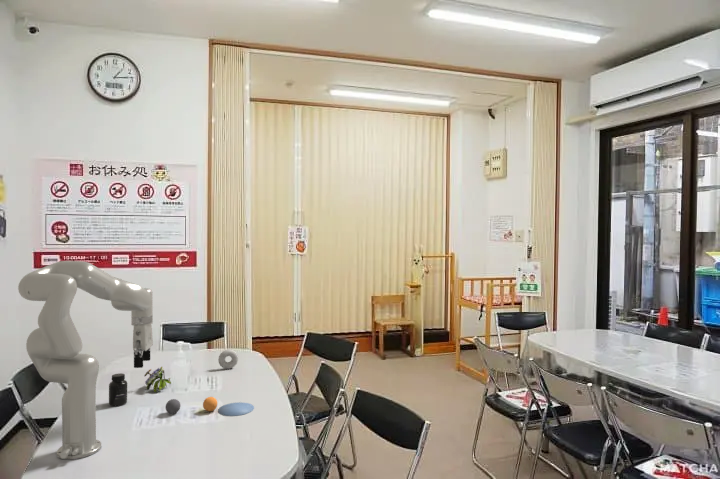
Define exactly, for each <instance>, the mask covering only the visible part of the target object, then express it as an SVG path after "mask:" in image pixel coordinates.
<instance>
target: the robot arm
mask: <svg viewBox="0 0 720 479" xmlns="http://www.w3.org/2000/svg"><path fill="white" fill-rule="evenodd" d="M78 289H80V290H82V291H84V292H86V293H87V294H90V295H92V296H93V297H95V298H97V299H101V300H105V301H109V302H110V304H111V306H112V308H114V309H115V310H117V311H124V312H131V313H130V314H131V315H130V316H131V326H132V327H133V330H132V332H133V334H132V349H133V368H135V369H139V368H140V369H142V368H143V367H144V362H146V361H148V362H149V361H151V348H152V346H153V344H154V341H153V328H152V325H153V322H154V321H153V291H152V289H150V288H146V287H145V288H144V287H142V286H140V285H138V284H135V283H133V282H129V281H126V280H124V279H122V278H117V277H114V276H112V275H111V274H109V273H107V272H105V271H104V270H102V269H101V268H99V267H97V266H95V265H93V264H92V263H90V262H88V261H84V260H83V261H82V260H62V261H61V260H60V261H57V262H53V263H51V264H48V265H46V266H44V267H41V268H39V269H36V270H34V271H31V272H28V273H27V274H26V275H24V276H22V278H21V279H20V281H19V283H18V286H17V290H18V293H19V295H20V296H21V297H22V298H23V299H25V300H27V301H33V302H45V303H44V304H43V306H42V308H41V311H40V312H39V313H38V317H37V324H38V328H37V327H36V328H35V329H34V330H32V331H31V332H30V333H29V335H28V336H27V338H26V344H25V345H26V346H25V347H26V348H25V349H26V352H27V355H28V356H29V358H30V361H31V362H32V364H33V365H34V367H35V369H36V371H37V372H38V374H39V376H40V377H41V378H42V379H43V380H45V381H46V382H49V383H56V384H57V383H58V384H64V385H65V384H66V385H67V387H66V389H65V391H64V393H63V395H62V398H61V429H62V430H61V435H62V438H61V440H62V443H61V446H59V448H58V449H56V456H57V458H58V459H60V460H61V459H62V460H76V459H83V458H86V457H89V456H91V455H93V454H96V453H97V452H98V451H99V450H100V449H101V448H102V441H101V440H98V439H97V418H96V417H97V413H96V412H97V410H96V409H97V408H96V407H97V406H96V404H97V403H96V397H97V396H96V395H97V393H96V389H97V381H98V377H99V376H98V375H99V368H100V364H99V361H98V358H96V357H94V356H93V355H91V354H87V353H81V351H82V350H83V340H82V338H81V336H80V333H79V332H78V330H77V328H76V326H75V323H74V321H73V319H72V317H71V314H70V313H71V312H70V311H71V306H72V303H73V301H74V298H75V296H76V293H77V291H78Z"/></svg>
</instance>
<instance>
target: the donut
mask: <svg viewBox="0 0 720 479" xmlns="http://www.w3.org/2000/svg"><path fill="white" fill-rule="evenodd" d="M227 357H230V358H231V360H230V361H226V358H227ZM238 361H239V356H238V353H237V352H236V351H235V350H233V349H228V348H227V349H225V350H223V351H221V353H220V354H219V356H218V364H219V366H220V367H221V368H223V369H226V370H227V369H228V370H230V369H232V368H234V367H235V366H236V365H237V364H238Z"/></svg>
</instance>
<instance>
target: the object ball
mask: <svg viewBox="0 0 720 479" xmlns="http://www.w3.org/2000/svg"><path fill="white" fill-rule="evenodd" d="M217 407H218V400H217V399H216V398H215V397H214V396H208V397H206V398H204V400H203V402H202V408H203V409H204V410H205V411H206V412H213V411H214V410H216V409H217Z"/></svg>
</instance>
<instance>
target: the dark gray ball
mask: <svg viewBox="0 0 720 479" xmlns="http://www.w3.org/2000/svg"><path fill="white" fill-rule="evenodd" d="M180 409H181V402H180V401H179V400H178V399H176V398H172V399H169V400H168V401H167V402H166V404H165V411H166V412H167V413H168V414H171V415H173V414H177V413H178V412H179V411H180Z"/></svg>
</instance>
